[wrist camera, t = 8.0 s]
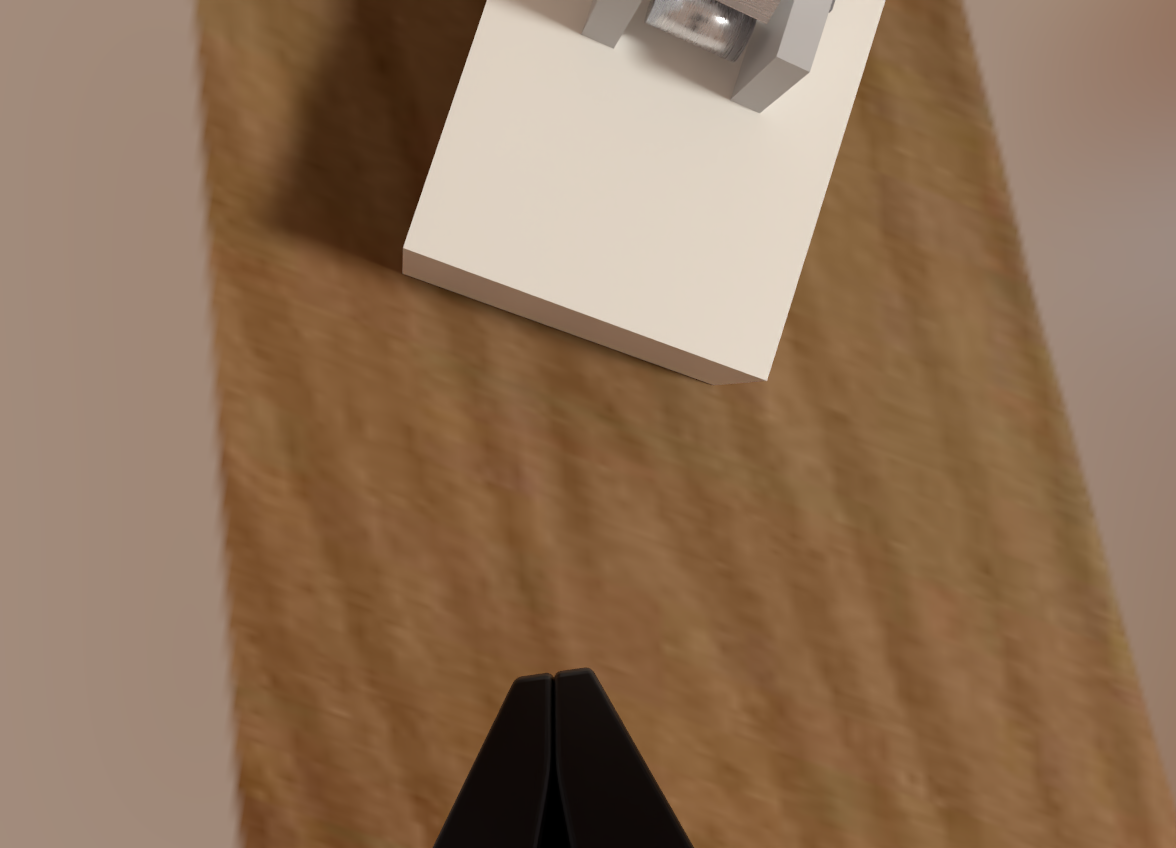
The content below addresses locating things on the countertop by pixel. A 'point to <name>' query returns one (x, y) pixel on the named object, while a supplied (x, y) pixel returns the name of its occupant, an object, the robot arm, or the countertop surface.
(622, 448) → the countertop surface
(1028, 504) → the countertop surface
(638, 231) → the switch box
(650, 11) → the switch lever
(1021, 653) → the countertop surface
